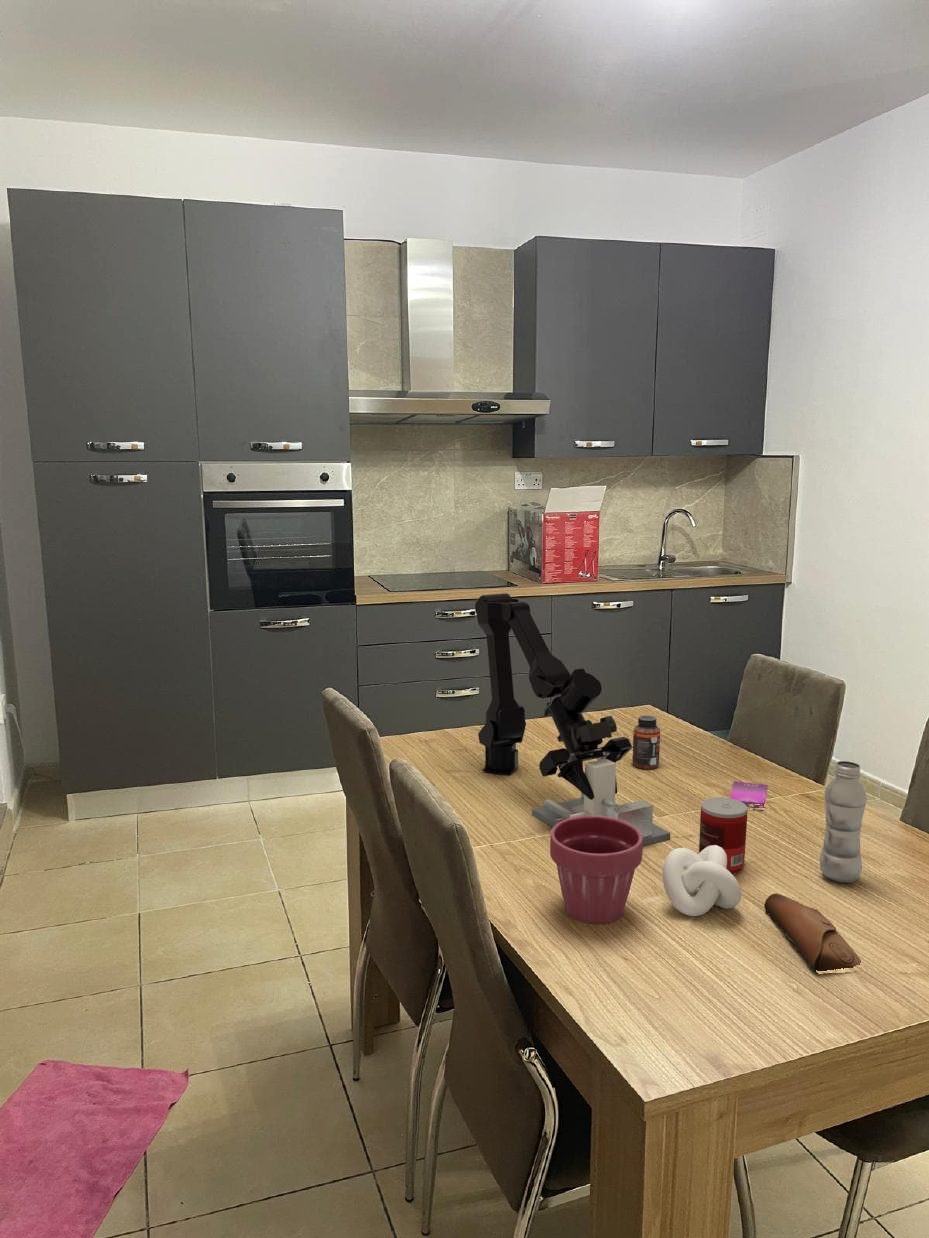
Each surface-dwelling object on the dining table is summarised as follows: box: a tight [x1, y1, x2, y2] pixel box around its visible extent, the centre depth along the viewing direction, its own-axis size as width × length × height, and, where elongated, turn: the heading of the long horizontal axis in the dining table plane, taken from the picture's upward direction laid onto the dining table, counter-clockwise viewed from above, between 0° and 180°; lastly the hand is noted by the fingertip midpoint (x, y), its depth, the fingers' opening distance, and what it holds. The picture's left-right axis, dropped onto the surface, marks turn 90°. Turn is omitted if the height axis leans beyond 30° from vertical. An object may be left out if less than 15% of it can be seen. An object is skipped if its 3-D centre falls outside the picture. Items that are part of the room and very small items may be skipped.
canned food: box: [698, 796, 748, 875], centre depth 158 cm, size 8×8×11 cm
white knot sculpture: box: [662, 845, 742, 917], centre depth 144 cm, size 11×12×9 cm
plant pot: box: [549, 816, 644, 925], centre depth 142 cm, size 14×14×13 cm
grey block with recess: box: [607, 799, 654, 838], centre depth 167 cm, size 3×8×6 cm, turn 119°
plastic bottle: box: [819, 760, 868, 884], centre depth 152 cm, size 6×7×20 cm
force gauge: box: [570, 759, 618, 818], centre depth 173 cm, size 8×10×11 cm
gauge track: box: [531, 791, 671, 847], centre depth 175 cm, size 22×16×2 cm
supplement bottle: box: [632, 715, 661, 770], centre depth 207 cm, size 6×6×11 cm
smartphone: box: [729, 780, 769, 812], centre depth 190 cm, size 7×15×1 cm, turn 160°
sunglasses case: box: [763, 893, 862, 973], centre depth 135 cm, size 18×7×7 cm
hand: (604, 796), depth 173 cm, fingers closed on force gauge, 5 cm apart
